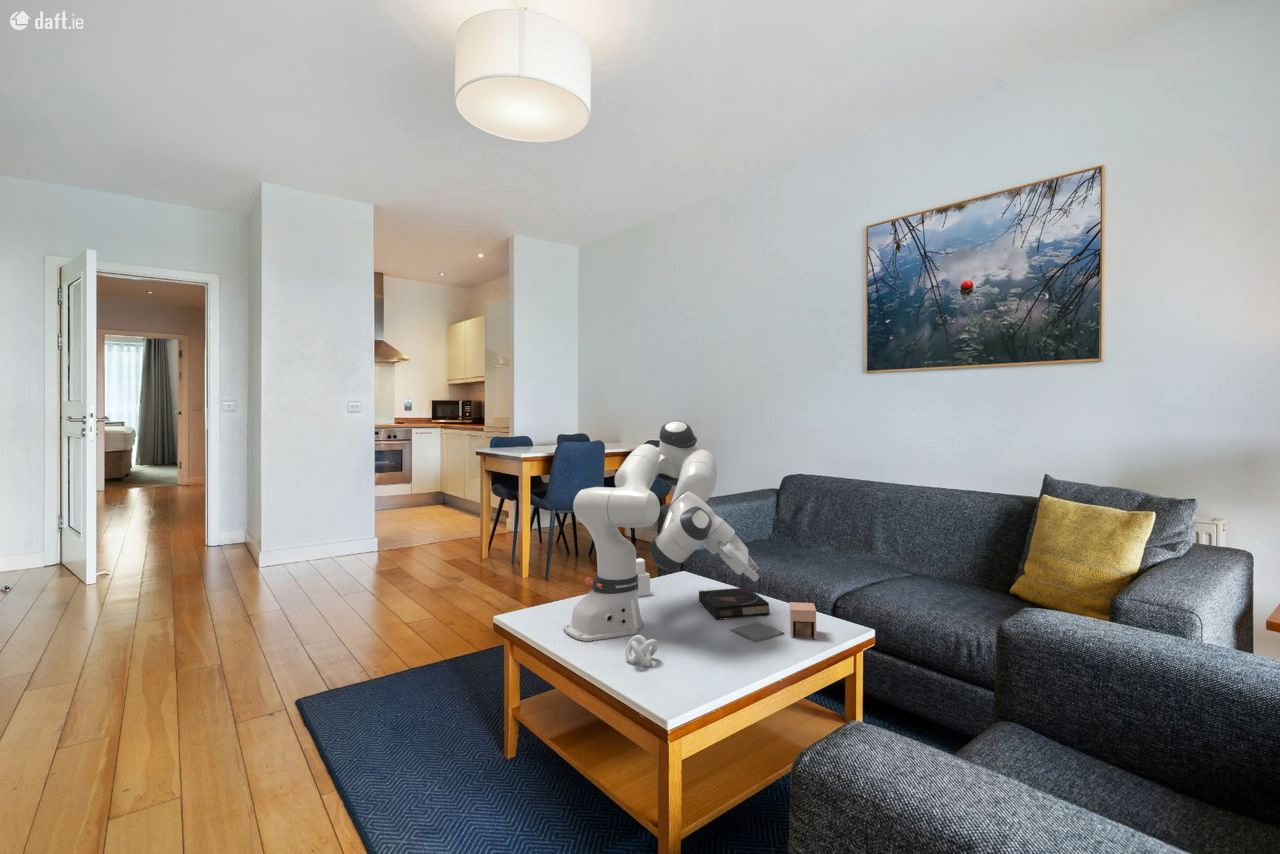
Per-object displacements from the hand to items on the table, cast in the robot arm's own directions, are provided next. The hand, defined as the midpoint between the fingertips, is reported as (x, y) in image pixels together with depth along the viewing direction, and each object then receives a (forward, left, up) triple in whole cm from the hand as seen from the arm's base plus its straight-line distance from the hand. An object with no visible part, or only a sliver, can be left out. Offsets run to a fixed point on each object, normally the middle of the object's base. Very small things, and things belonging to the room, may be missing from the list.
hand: (757, 574), depth 166 cm
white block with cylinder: (-9, +48, -16) cm, 51 cm away
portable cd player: (+7, +18, -16) cm, 25 cm away
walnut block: (+8, -9, -16) cm, 20 cm away
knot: (-37, 0, -16) cm, 40 cm away
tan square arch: (+8, -9, -15) cm, 20 cm away
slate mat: (-1, -1, -15) cm, 15 cm away
